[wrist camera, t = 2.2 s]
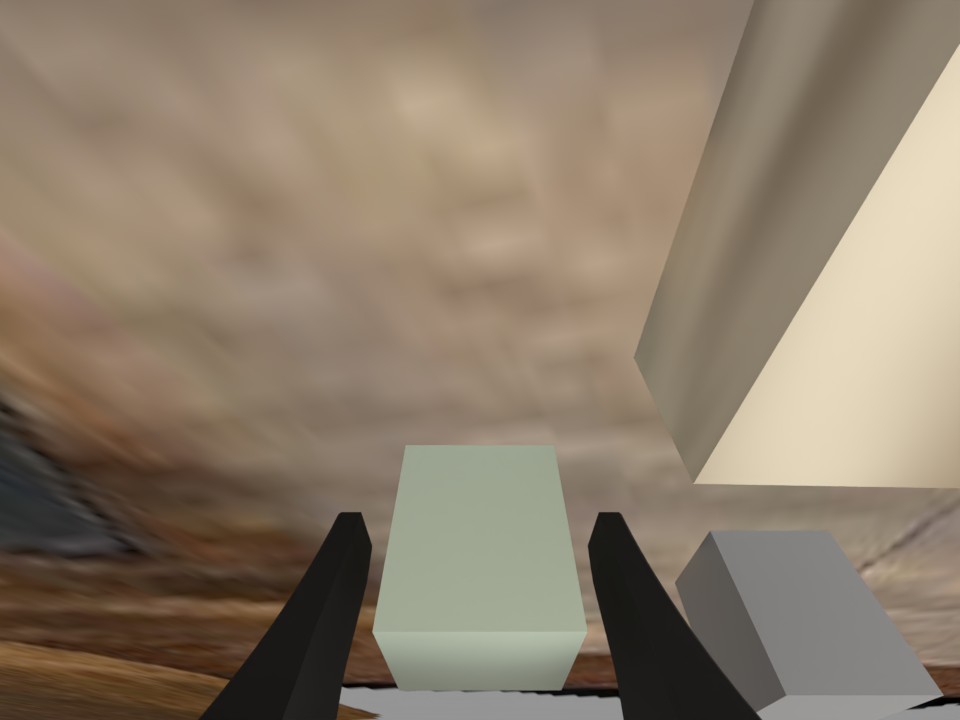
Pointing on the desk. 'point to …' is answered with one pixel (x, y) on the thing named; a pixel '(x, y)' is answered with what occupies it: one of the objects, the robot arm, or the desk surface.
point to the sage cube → (479, 572)
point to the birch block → (821, 257)
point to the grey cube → (799, 628)
